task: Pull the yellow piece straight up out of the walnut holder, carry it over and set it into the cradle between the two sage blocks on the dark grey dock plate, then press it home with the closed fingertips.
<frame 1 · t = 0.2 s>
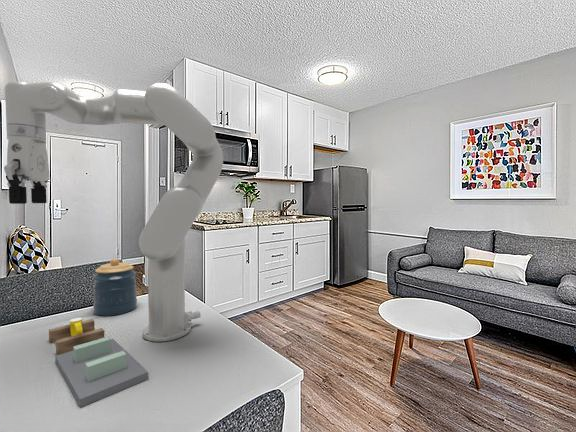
hand: (29, 203, 77), 36 cm above the table, tool pointing down, fingers open, 9 cm apart
holder: (76, 341, 80), on the table
dock: (99, 370, 66), on the table
canister: (116, 310, 103), on the table
yellow piece: (76, 341, 80), on the table
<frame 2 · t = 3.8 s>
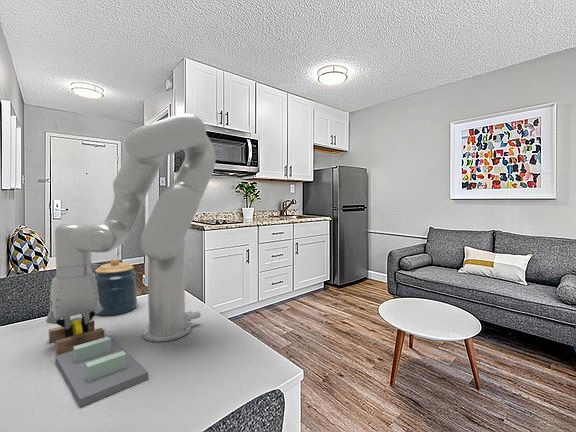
hand: (76, 339, 80), 0 cm above the table, tool pointing down, fingers closed on yellow piece, 2 cm apart
yellow piece: (76, 341, 80), on the table, touching gripper
everything else where it was.
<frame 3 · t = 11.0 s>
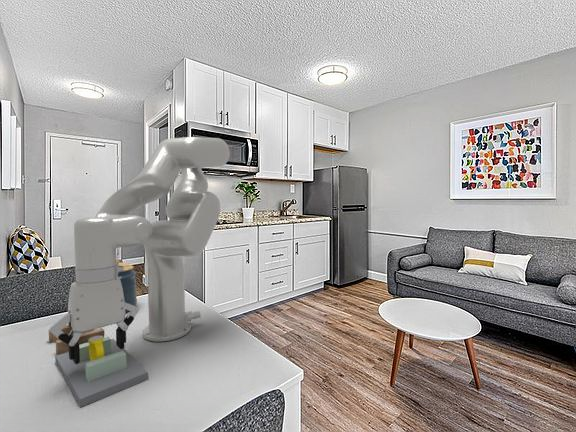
hand: (99, 353, 66), 4 cm above the table, tool pointing down, fingers open, 8 cm apart
yellow piece: (96, 365, 66), point 1 cm above the table, touching dock
everything else where it was.
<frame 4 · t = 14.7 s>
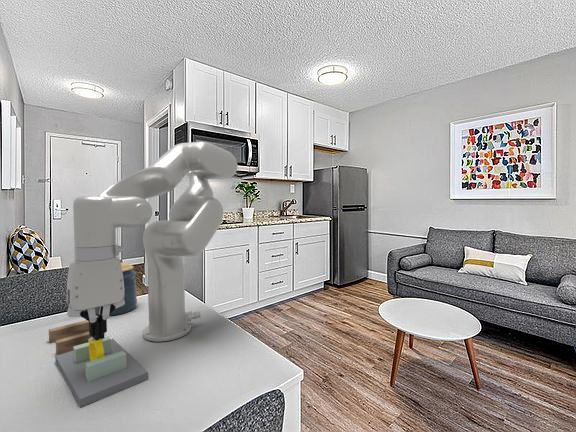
hand: (98, 337, 66), 7 cm above the table, tool pointing down, fingers closed
yellow piece: (96, 365, 66), point 1 cm above the table, touching dock, gripper
everything else where it was.
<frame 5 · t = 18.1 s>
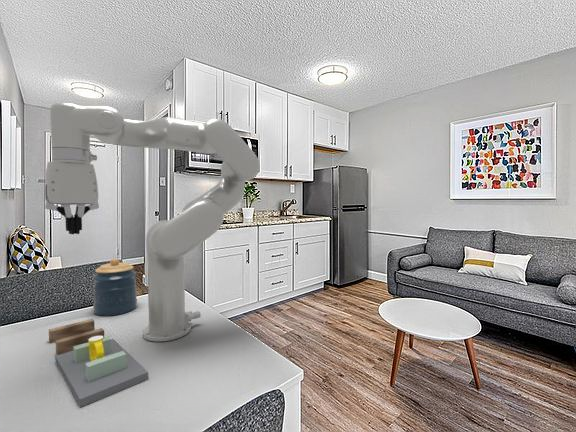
hand: (74, 233, 74), 29 cm above the table, tool pointing down, fingers closed
yellow piece: (96, 365, 66), point 1 cm above the table, touching dock
everything else where it was.
at the end: yellow piece 0.5 cm off-centre on the dock, point 1.3 cm above the dock's base; yellow piece tilted 0°; the gripper is holding nothing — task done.
